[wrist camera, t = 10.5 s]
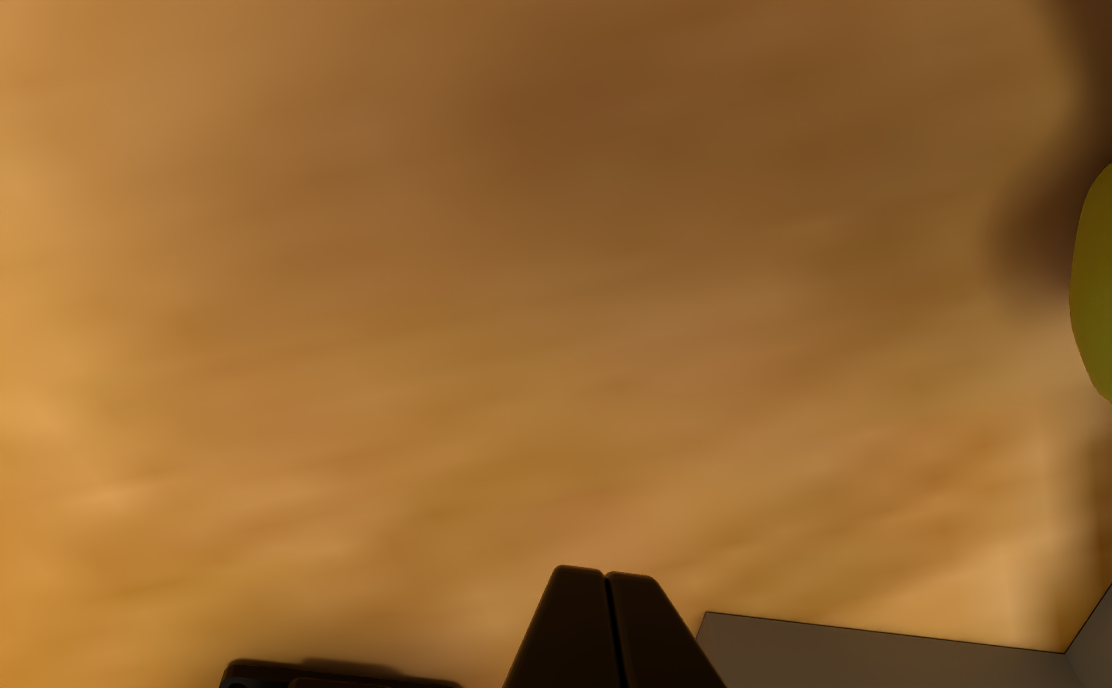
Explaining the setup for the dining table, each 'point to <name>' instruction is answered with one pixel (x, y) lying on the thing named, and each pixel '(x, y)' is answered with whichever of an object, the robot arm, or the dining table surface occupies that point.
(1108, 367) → the dumbbell
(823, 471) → the dining table surface
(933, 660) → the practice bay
